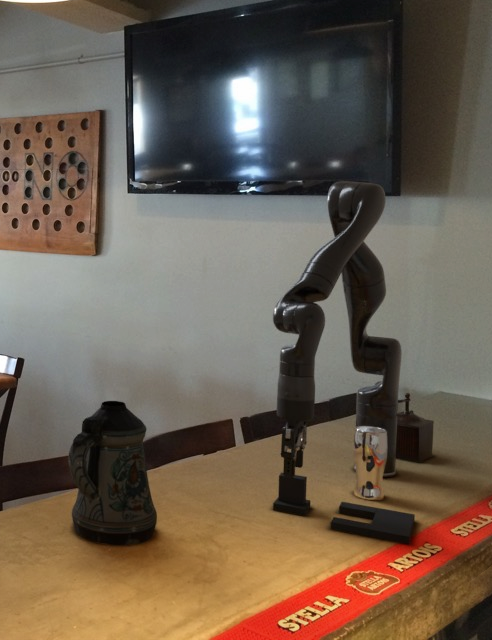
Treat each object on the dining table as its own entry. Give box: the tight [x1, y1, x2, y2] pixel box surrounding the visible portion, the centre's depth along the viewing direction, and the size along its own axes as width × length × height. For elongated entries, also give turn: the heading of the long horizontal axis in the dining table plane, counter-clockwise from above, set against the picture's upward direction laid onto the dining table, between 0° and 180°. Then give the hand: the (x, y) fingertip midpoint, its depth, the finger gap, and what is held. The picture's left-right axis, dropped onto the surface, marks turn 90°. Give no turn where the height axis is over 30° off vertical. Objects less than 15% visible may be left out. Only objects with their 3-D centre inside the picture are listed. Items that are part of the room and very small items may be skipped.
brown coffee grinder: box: [374, 380, 435, 463], centre depth 215 cm, size 16×11×18 cm
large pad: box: [330, 501, 416, 545], centre depth 162 cm, size 14×14×2 cm
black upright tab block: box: [272, 472, 311, 517], centre depth 171 cm, size 6×6×7 cm
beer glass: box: [353, 426, 388, 501], centre depth 180 cm, size 7×7×15 cm
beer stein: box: [67, 400, 158, 546], centre depth 156 cm, size 16×19×25 cm
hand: (293, 471), depth 171 cm, fingers open, 8 cm apart
